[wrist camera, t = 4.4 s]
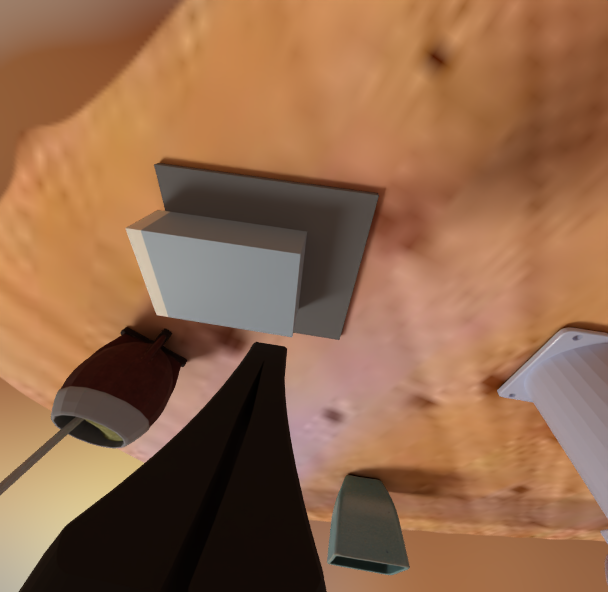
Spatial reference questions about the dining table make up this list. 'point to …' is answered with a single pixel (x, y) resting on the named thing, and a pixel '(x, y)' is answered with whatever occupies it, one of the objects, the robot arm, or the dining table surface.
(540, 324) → the dining table surface
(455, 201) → the dining table surface
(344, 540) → the flower pot
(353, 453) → the dining table surface
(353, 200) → the mat
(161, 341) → the mate gourd
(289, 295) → the slab
